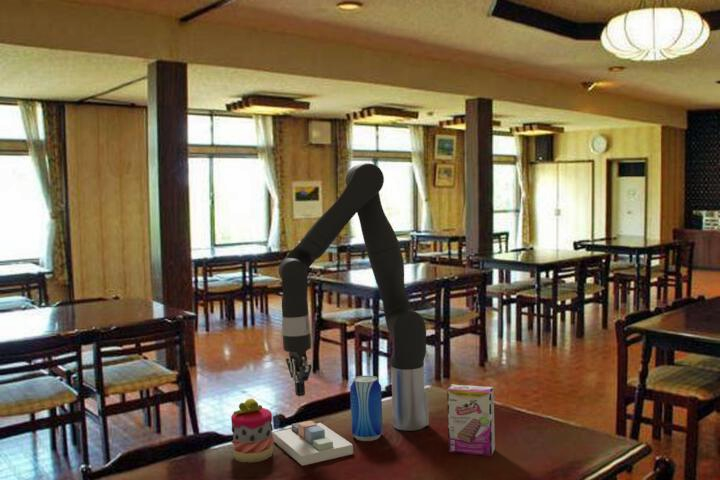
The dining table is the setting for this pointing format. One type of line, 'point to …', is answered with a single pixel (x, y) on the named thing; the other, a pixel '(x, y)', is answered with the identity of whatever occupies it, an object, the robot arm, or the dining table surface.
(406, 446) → the dining table surface
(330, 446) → the sage key
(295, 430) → the charcoal key
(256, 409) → the cake
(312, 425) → the terracotta key
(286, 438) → the keypad frame
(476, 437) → the candy bar box
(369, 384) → the beer can
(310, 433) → the slate-blue key
